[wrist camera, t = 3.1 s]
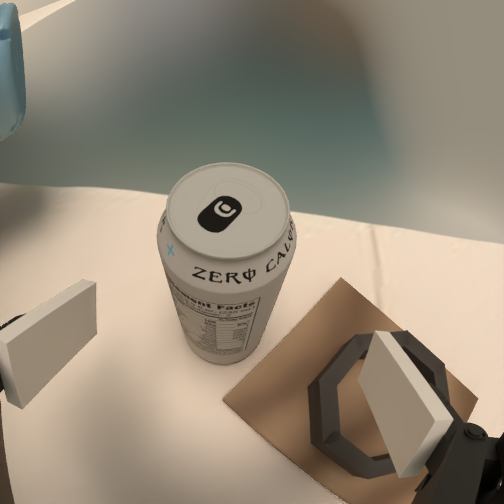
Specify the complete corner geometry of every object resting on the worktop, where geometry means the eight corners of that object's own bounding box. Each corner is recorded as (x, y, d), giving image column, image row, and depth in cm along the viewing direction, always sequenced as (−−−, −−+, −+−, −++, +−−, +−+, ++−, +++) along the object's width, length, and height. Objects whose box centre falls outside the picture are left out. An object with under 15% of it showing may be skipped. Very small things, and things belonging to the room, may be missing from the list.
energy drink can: (275, 323, 26) (331, 198, 13) (230, 382, 23) (244, 307, 10) (216, 282, 27) (218, 136, 15) (169, 334, 24) (119, 214, 12)
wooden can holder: (222, 400, 22) (223, 393, 19) (336, 283, 28) (352, 259, 25) (387, 528, 16) (414, 538, 13) (470, 400, 23) (499, 391, 19)
